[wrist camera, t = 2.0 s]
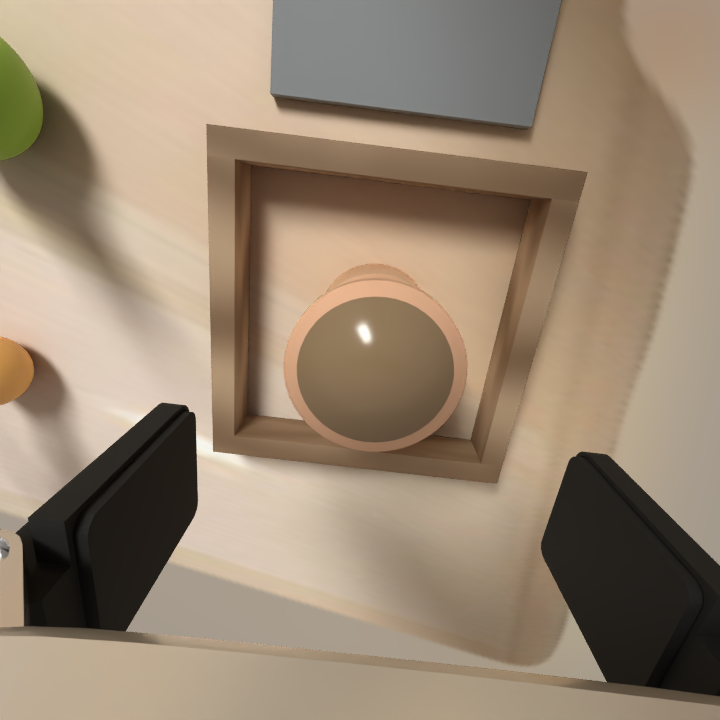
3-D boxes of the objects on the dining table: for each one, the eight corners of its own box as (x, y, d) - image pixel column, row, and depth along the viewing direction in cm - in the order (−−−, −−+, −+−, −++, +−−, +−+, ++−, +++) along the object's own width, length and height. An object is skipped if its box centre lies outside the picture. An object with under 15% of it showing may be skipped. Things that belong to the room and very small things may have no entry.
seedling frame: (226, 134, 19) (206, 124, 17) (561, 176, 19) (587, 172, 17) (228, 428, 25) (213, 451, 23) (485, 458, 25) (497, 483, 23)
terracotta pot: (317, 248, 21) (287, 271, 13) (445, 264, 21) (486, 295, 13) (309, 367, 23) (279, 442, 16) (423, 380, 23) (447, 462, 16)
